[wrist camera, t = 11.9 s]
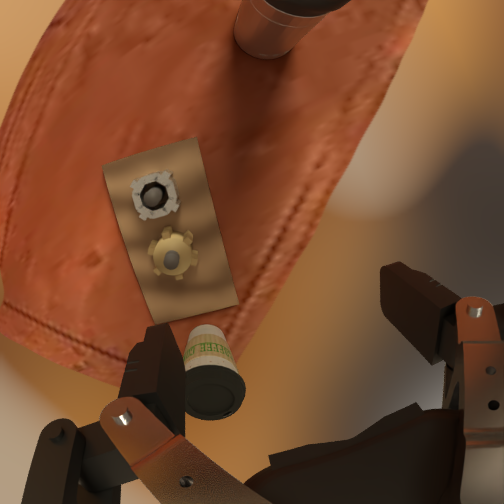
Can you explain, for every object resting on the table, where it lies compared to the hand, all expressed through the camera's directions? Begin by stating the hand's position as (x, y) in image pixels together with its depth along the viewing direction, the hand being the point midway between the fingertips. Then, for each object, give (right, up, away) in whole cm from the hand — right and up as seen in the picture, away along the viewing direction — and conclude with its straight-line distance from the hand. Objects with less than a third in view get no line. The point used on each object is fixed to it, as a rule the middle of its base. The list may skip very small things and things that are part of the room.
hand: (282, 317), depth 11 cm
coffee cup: (-9, -13, +42) cm, 45 cm away
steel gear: (-14, +11, +31) cm, 36 cm away
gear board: (-13, +5, +35) cm, 38 cm away
